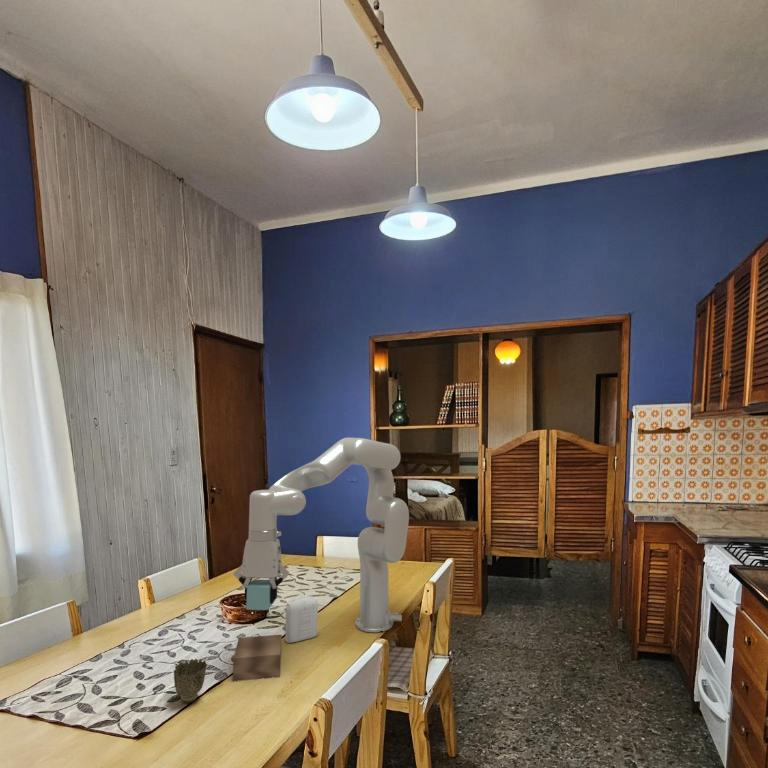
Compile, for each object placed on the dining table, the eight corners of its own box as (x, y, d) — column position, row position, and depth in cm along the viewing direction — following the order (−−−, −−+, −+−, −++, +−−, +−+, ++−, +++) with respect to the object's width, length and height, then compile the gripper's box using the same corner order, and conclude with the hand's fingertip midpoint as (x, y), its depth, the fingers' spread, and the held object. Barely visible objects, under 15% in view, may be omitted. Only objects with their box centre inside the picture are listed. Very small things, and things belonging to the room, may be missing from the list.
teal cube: (274, 601, 134) (274, 579, 135) (268, 610, 128) (268, 587, 129) (253, 601, 135) (253, 579, 135) (246, 609, 129) (247, 586, 129)
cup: (178, 692, 118) (179, 658, 119) (209, 690, 119) (210, 657, 119) (167, 710, 111) (168, 674, 111) (199, 708, 111) (201, 673, 112)
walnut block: (281, 656, 137) (281, 634, 138) (279, 678, 125) (280, 654, 126) (238, 659, 135) (238, 637, 135) (232, 682, 123) (233, 658, 124)
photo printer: (313, 631, 152) (314, 592, 153) (319, 636, 149) (319, 596, 150) (283, 639, 147) (283, 598, 148) (288, 645, 143) (289, 603, 144)
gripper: (295, 532, 136) (294, 597, 135) (236, 531, 137) (234, 596, 136) (289, 539, 129) (288, 607, 127) (227, 538, 130) (225, 606, 128)
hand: (260, 601), depth 132 cm, fingers closed on teal cube, 6 cm apart
